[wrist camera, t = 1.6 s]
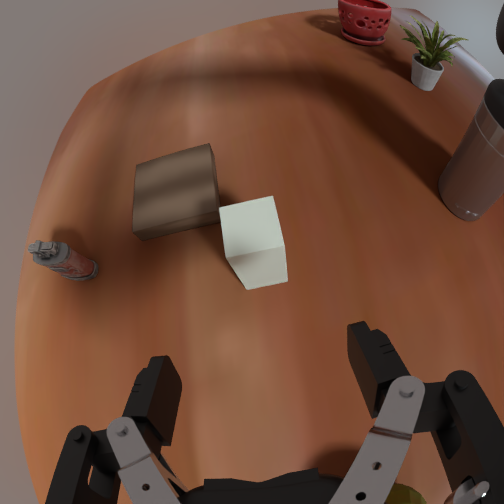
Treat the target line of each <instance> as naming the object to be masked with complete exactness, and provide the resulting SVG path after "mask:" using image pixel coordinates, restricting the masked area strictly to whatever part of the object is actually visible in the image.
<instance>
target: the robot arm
mask: <svg viewBox="0 0 504 504" xmlns="http://www.w3.org/2000/svg"><path fill="white" fill-rule="evenodd" d="M496 39H497V44H498V46H499V49H500V50H501V52H502V53H503V54H504V4H503V7H502V9H501V12H500V15H499V18H498V22H497V27H496ZM438 188H439V193H440V196H441V198H442V200H443V202H444V203H445V205H446V206H447V207H448V209H449V210H450V211H451V212H452V213H454V214H455V215H456V216H458V217H459V218H461V219H464V220H467V221H475V220H477V219H479V218H480V217H481V216H482V215H483V214H484V213H485V212H486V211H487V210H488V209H489V208H490V207H491V206H492V205H493V204H494V203H495V202H496V201H497V200H498V199H499V197H500V196H501V195H502V194H503V193H504V80H503V79H495V80H493V81H492V82H491V83H490V84H489V86H488V88H487V90H486V92H485V95H484V97H483V99H482V101H481V103H480V105H479V107H478V110H477V112H476V114H475V116H474V118H473V120H472V122H471V124H470V125H469V127H468V129H467V131H466V133H465V135H464V137H463V138H462V140H461V142H460V144H459V146H458V147H457V149H456V151H455V153H454V154H453V156H452V158H451V159H450V161H449V163H448V164H447V166H446V168H445V169H444V171H443V172H442V174H441V176H440V178H439V181H438ZM347 345H348V357H349V361H350V364H351V367H352V369H353V372H354V374H355V377H356V379H357V382H358V384H359V387H360V389H361V392H362V394H363V397H364V400H365V402H366V405H367V407H368V410H369V413H370V415H371V418H372V419H373V418H376V417H377V420H376V422H375V424H374V426H373V428H371V429H370V431H369V433H368V435H367V437H366V439H365V441H364V443H363V445H362V447H361V449H360V451H359V453H358V454H357V456H356V458H355V460H354V462H353V464H352V466H351V467H350V469H349V471H348V473H347V475H346V476H345V478H343V477H340V476H336V475H331V474H319V473H318V468H313V469H308V470H303V471H297V472H291V473H287V474H284V475H281V476H279V477H276V478H273V479H270V480H267V481H264V482H251V481H244V480H237V479H232V478H228V479H204V485H203V486H199V487H196V488H194V489H192V490H190V491H189V490H188V488H187V487H186V486H185V485H184V484H183V483H182V482H181V480H180V479H179V478H178V476H177V475H176V473H175V472H174V471H173V469H172V468H171V466H170V465H169V463H168V462H167V460H166V459H165V457H164V455H163V454H162V453H161V452H160V451H161V446H171V442H172V437H173V431H174V426H175V421H176V416H177V411H178V406H179V402H180V397H181V392H182V382H181V379H180V376H179V374H178V373H177V371H176V369H175V367H174V365H173V363H172V361H171V359H170V357H169V356H167V355H166V356H155V357H151V359H150V362H149V364H148V367H147V368H143V369H142V371H141V372H140V373H139V374H138V375H137V377H136V380H135V382H134V386H133V388H132V390H131V393H130V396H129V398H128V401H127V404H126V407H125V409H124V412H123V415H122V417H119V418H117V419H115V420H113V421H112V422H111V423H110V424H109V426H108V428H107V429H105V430H100V431H95V432H92V431H91V430H90V429H89V428H88V427H87V426H84V425H79V426H76V427H74V428H73V429H72V430H71V431H70V432H69V433H68V435H67V438H66V441H65V444H64V446H63V449H62V452H61V455H60V457H59V460H58V463H57V466H56V469H55V472H54V475H53V479H52V482H51V485H50V488H49V492H48V495H47V499H46V502H45V504H117V500H118V494H119V489H120V484H121V481H122V483H123V485H124V487H125V489H126V491H127V493H128V495H129V497H130V499H131V501H132V503H133V504H388V503H386V502H385V500H386V498H387V496H388V494H389V492H390V490H391V488H392V486H393V484H394V481H395V479H396V477H397V475H398V472H399V470H400V468H401V465H402V463H403V460H404V458H405V455H406V452H407V450H408V447H409V444H410V442H411V438H412V433H420V432H429V431H430V432H431V434H432V437H433V439H434V442H435V444H436V447H437V450H438V452H439V455H440V458H441V460H442V463H443V466H444V469H445V472H446V475H447V478H448V481H449V484H450V487H451V490H452V493H451V494H450V495H449V496H448V497H447V499H446V500H445V502H444V504H504V427H503V425H502V423H501V421H500V419H499V418H498V416H497V414H496V412H495V410H494V409H493V407H492V405H491V403H490V402H489V400H488V398H487V397H486V395H485V393H484V392H483V390H482V388H481V387H480V385H479V383H478V382H477V380H476V379H475V377H474V376H473V375H472V374H471V373H469V372H467V371H463V370H458V371H454V372H452V373H450V374H449V375H448V376H447V378H446V380H445V381H443V382H435V383H423V382H422V381H421V380H420V379H418V378H416V377H413V376H411V375H410V374H409V372H408V370H407V368H406V367H405V365H404V363H403V362H402V360H401V358H400V356H399V355H398V353H397V351H395V348H394V346H393V345H392V344H391V342H390V340H389V338H388V337H387V335H386V334H384V333H383V332H381V331H380V330H379V329H375V330H372V331H370V329H369V327H368V326H367V324H366V322H365V321H361V322H357V323H353V324H349V325H348V326H347ZM91 465H92V466H93V470H92V474H91V478H90V482H89V485H88V476H89V472H90V469H91Z"/></svg>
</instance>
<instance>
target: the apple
mask: <svg viewBox="0 0 504 504" xmlns="http://www.w3.org/2000/svg"><path fill="white" fill-rule="evenodd" d="M385 502H386V503H388V504H426V501H425V500H424V498H423V497H422V495H421V494H420V493H419V492H417V491H416V490H414V489H413V488H412V487H409V486H406V485H403V484H393V486H392V488H391V490H390V492H389V494H388V496H387V498H386V500H385Z"/></svg>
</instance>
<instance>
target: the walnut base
mask: <svg viewBox="0 0 504 504" xmlns="http://www.w3.org/2000/svg"><path fill="white" fill-rule="evenodd" d="M219 208H220V199H219V191H218V183H217V175H216V167H215V158H214V154H213V151H212V149H211V146H210V144H209V143H208V144H204V145H200V146H197V147H193V148H190V149H186V150H182V151H179V152H176V153H172V154H169V155H166V156H162V157H159V158H156V159H153V160H150V161H147V162H144V163H141V164H138V165H137V166H136V176H135V189H134V203H133V224H132V232H133V233H134V234H135V235H136V236H137V237H138V238H140V239H141V240H142V241H144V240H148V239H152V238H156V237H160V236H164V235H168V234H172V233H176V232H180V231H184V230H188V229H193V228H197V227H201V226H206V225H210V224H214V223H219V222H221V218H220V211H219Z"/></svg>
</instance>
